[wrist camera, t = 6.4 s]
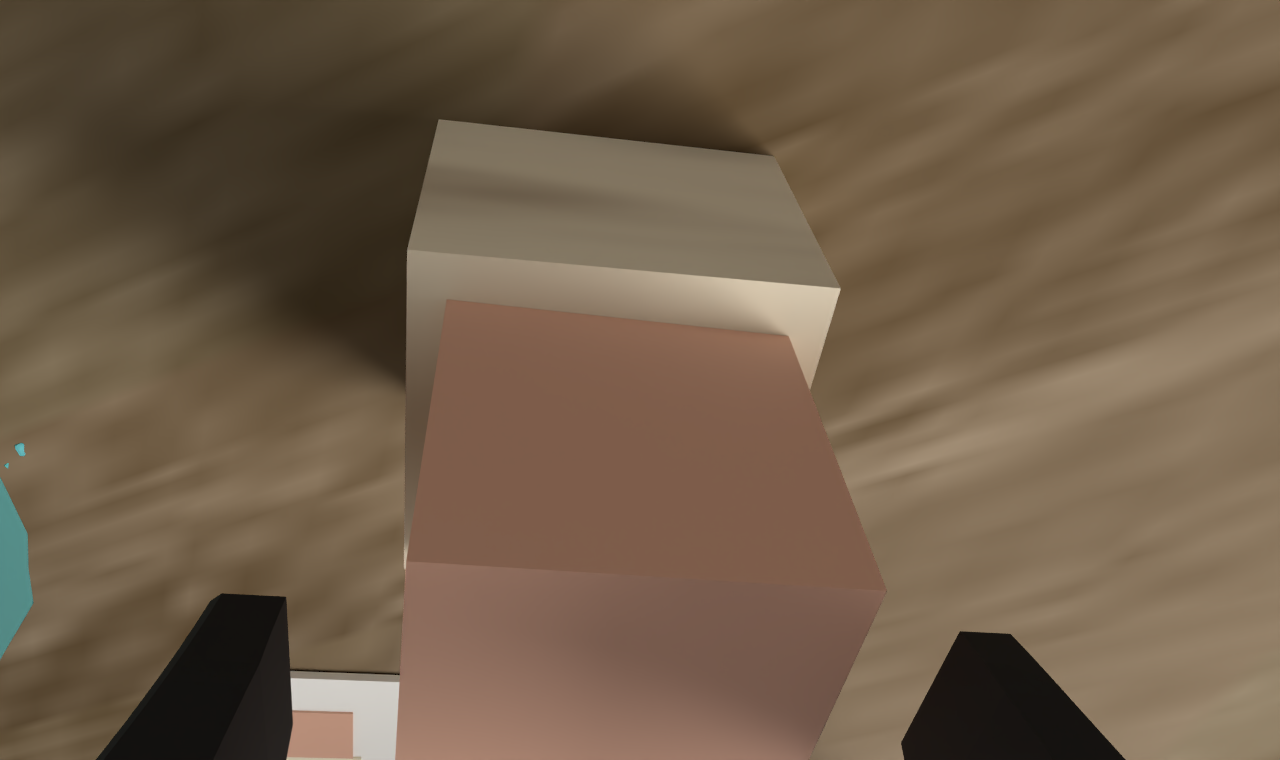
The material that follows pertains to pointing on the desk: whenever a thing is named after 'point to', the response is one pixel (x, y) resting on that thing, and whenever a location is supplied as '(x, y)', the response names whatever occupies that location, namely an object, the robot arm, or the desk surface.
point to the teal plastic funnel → (12, 567)
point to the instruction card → (343, 716)
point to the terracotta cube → (625, 547)
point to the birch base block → (605, 245)
